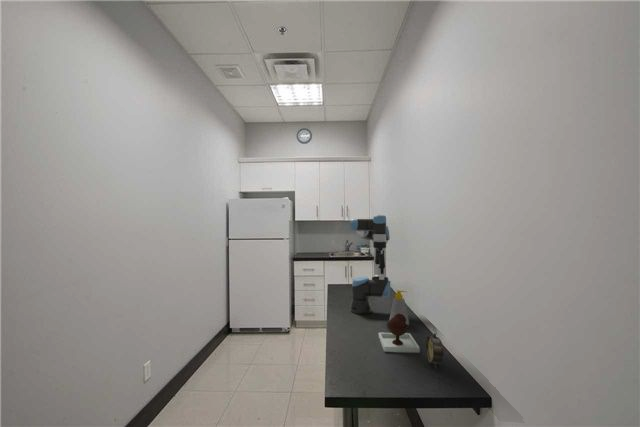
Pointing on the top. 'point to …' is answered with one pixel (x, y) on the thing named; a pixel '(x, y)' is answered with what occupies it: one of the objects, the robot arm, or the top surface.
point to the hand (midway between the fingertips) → (379, 277)
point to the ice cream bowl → (397, 327)
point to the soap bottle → (399, 306)
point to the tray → (407, 346)
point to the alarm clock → (434, 349)
